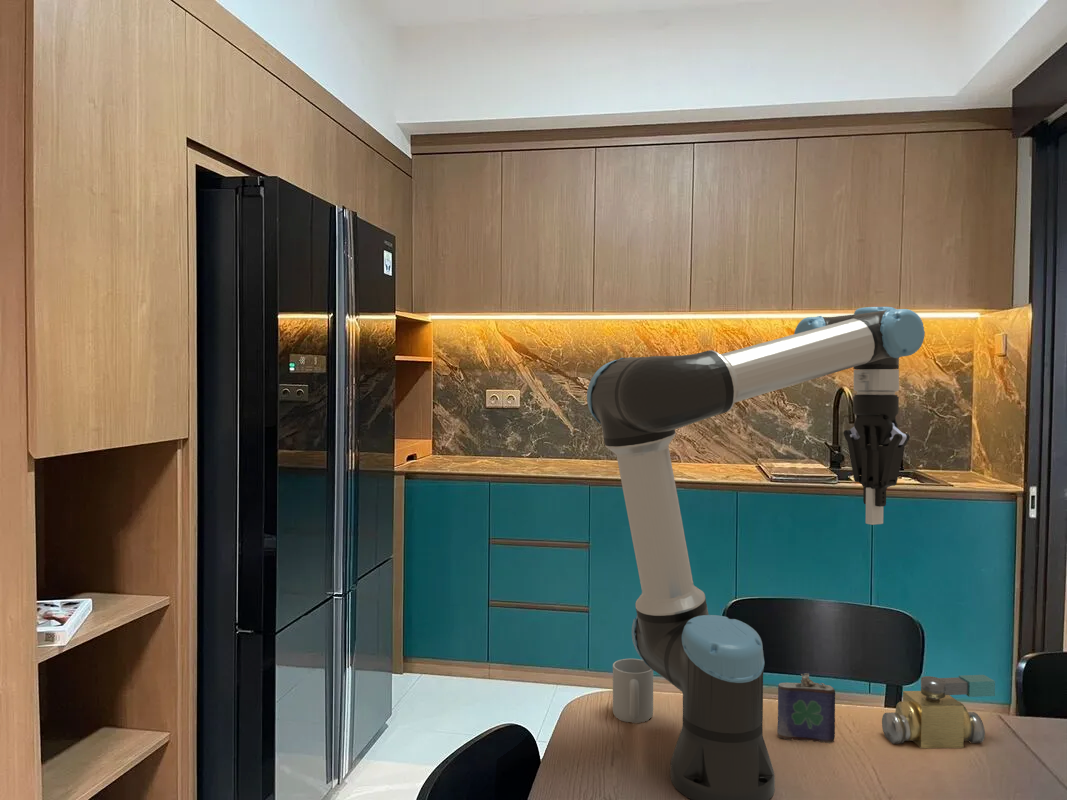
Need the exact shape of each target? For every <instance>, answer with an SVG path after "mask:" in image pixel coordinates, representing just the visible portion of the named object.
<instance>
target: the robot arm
mask: <svg viewBox="0 0 1067 800" xmlns="http://www.w3.org/2000/svg"><path fill="white" fill-rule="evenodd" d="M793 333H794V334H790V335H787V336H783V337H780V338H775V339H772V340H769V341H764V342H761V343H757V344H754V345H749V346H746V347H742V348H739V349H735V350H732V351H727V352H725V353H721V354H720V353H719V352H717V351H715V350H713V349H711V350H710V349H709V350H706V351H705V350H704V351H701V352H698V353H691V354H683V355H654V356H652V355H651V356H640V357H639V356H638V357H631V356H630V357H620V358H618V359H615V360H611V361H609V362H607V363H605V364H603V365H602V366H600V367H599V368H598V369H597V370H596V372H595V373H594V374H593V376H592V377H591V379H590V380H589V383H588V387H587V391H586V402H587V403H586V404H587V407H588V410H589V413H590V414H591V416H592V417H593V418H594V419H595V420H596V422H597V423H599V425H601V433H602V436H603V441H604V447H605V448H607V450H609V451H611V452H612V453H614V455H615V456H616V460H617V465H618V470H619V477H620V482H621V486H622V487H621V488H622V492H623V497H624V502H625V503H624V504H625V508H626V513H627V519H628V524H629V529H630V535H631V540H632V545H633V551H634V555H635V561H636V567H637V571H638V576H639V577H638V578H639V583H640V587H641V594H640V595H639V597H638V598H637V599H636V601H635V610H636V616H635V618H633V621H632V625H631V639H632V643H633V647H634V649H635V651H636V653H637V655H638V656H639V657H640V659H641V660H643V661H644V662H645V663H646V664H647V665H648V667H650V668H651V669H652V670H653V672H655V673H657V674H658V675H660V677H662V678H663V679H664V680H666V681H668V682H669V683H670V684H672V686H674V687H675V688H676V689H677V690H679V691H681V693H682V727H681V729H680V733H679V735H678V736H679V737H678V739H677V742H676V745H675V748H674V750H673V754H672V757H671V759H670V782H671V783H672V786H674V788H675V789H676V790H677V791H678V792H679V793H681V795H683V796H685V797H687V798H689V799H690V800H770V799H772V798H773V796H774V793H775V786H776V785H775V782H776V781H775V779H776V778H775V771H774V766H773V765H772V761H771V757H770V754H769V752H768V748H767V746H766V742H765V738H764V735H763V726H764V725H763V721H764V720H763V717H764V716H763V714H764V711H763V710H764V669H765V668H764V667H765V656H764V650H763V649H764V648H763V641H762V638H761V636H760V635H759V633H758V632H757V630H755V629H754V628H753V627H752V626H750V625H749V624H748V623H745V622H743V621H741V620H739V619H736V618H729V617H728V616H724V615H718V614H717V615H716V614H709V611H708V604H707V599H706V594H705V592H704V591H703V590H702V589H699V588H698V587H697V586H695V585H694V581H693V574H692V568H691V563H690V558H689V551H688V547H687V541H686V536H685V530H684V524H683V519H682V513H681V509H680V508H681V507H680V501H679V497H678V491H677V485H676V481H675V475H674V469H673V465H672V457H671V454H670V448H669V446H670V444H671V443H672V441H673V439H674V438H675V436H676V434H677V433H676V430H678V429H680V428H683V427H686V426H689V425H691V424H692V425H693V424H695V423H698V422H702V421H704V420H706V419H709V418H713V417H715V416H719V415H723V414H725V413H728V412H730V411H731V410H732V409H733V407H734V405H735V403H738V402H742V401H746V400H748V399H751V398H755V397H758V396H762V395H765V394H768V393H771V392H775V391H778V390H779V391H780V390H781V389H785V388H788V387H792V386H795V385H798V384H803V383H806V382H809V381H812V380H815V379H818V378H821V377H825V376H828V375H831V374H832V375H833V374H836V373H837V372H841V371H844V370H849V369H853V391H854V392H856V394H854V395H853V397H852V413H853V414H854V415H855V416H856V417H855V420H854V422H853V424H854V425H853V427H851V428H850V429H845V430H844V431H843V433H842V434H843V436H844V438H845V440H846V442H847V447H848V452H849V453H848V454H849V458H850V463H851V469H852V475H853V477H852V478H853V481H854V482H855V483H859V484H861V486H862V487H863V491H862V492H863V495H862V496H863V499H862V500H863V504H864V505H865V524H867V525H872V526H874V525H883V524H884V507H886V505H887V489H888V488H889V487H892V486H893V487H894V486H896V485H897V483H898V479H899V474H900V470H901V467H902V466H901V465H902V461H903V456H904V451H905V446H906V445H907V444H908V442H909V440H910V439H911V437H910V434H909V433H904V432H902V431H901V430H900V429H899V426H898V422H897V420H896V417H897V415H898V414H899V412H900V411H899V410H900V409H899V408H900V407H899V404H900V397H899V396H898V395H897V394H896V393H897V392H898V391H900V358H901V357H902V358H903V357H909V356H912V355H913V354H915V353H916V352H918V351H919V350H920V349H921V347H922V346H923V343H924V340H925V334H926V332H925V327H924V322H923V320H922V318H921V316H919V315H918V314H917V313H916V312H915V311H913V310H912V309H908V308H895V307H891V306H867V307H859V308H856V309H855V310H854V313H853V314H846V315H837V316H822V315H820V316H819V315H817V316H809V317H804V318H803V319H801V320H800V321H799V322H798V323H797V325H796V327H795V329H794V332H793Z"/></svg>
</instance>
